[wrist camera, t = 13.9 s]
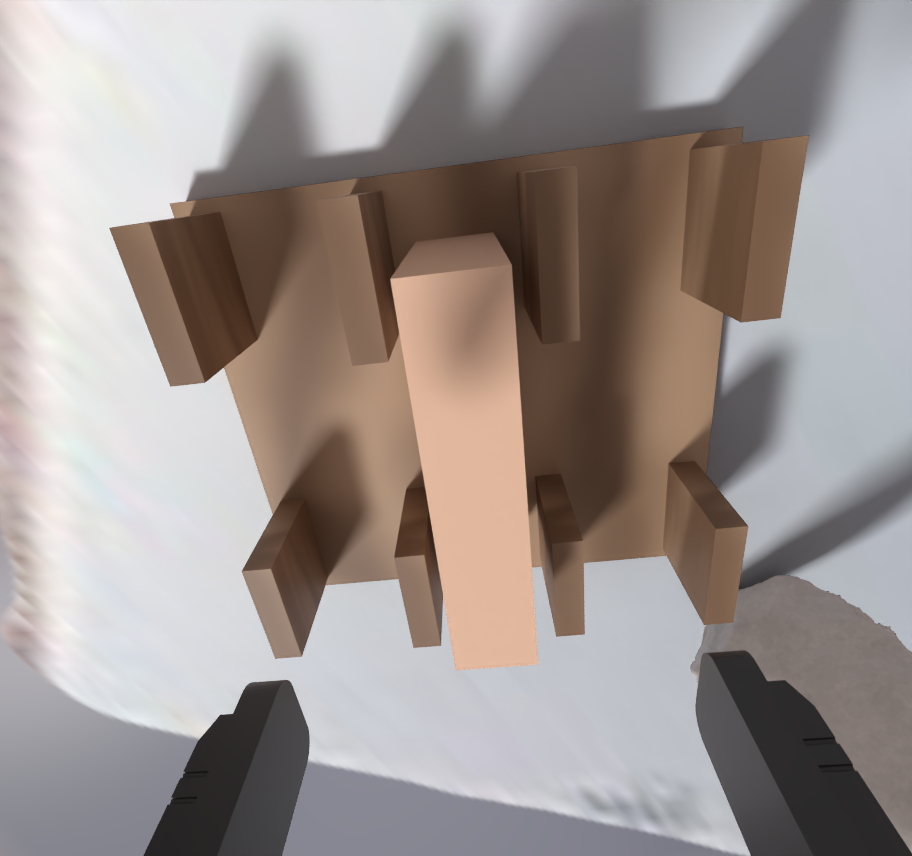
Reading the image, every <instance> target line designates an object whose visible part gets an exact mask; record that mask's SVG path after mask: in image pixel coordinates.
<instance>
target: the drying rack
mask: <svg viewBox="0 0 912 856" xmlns="http://www.w3.org/2000/svg"><path fill="white" fill-rule="evenodd" d="M742 134H743V127H737V128H729V129H722V130H714V131H707V132H699V133H692V134H685V135H677V136H670V137H662V138H655V139H647V140H640V141H632V142H625V143H618V144H610V145H603V146H595V147H588V148H580V149H573V150H566V151H558V152H551V153H543V154H536V155H528V156H521V157H513V158H506V159H499V160H491V161H484V162H476V163H469V164H461V165H454V166H446V167H439V168H432V169H424V170H417V171H409V172H402V173H394V174H387V175H379V176H372V177H365V178H357V179H350V180H342V181H335V182H327V183H320V184H312V185H305V186H298V187H290V188H283V189H275V190H268V191H260V192H253V193H245V194H238V195H231V196H223V197H216V198H208V199H201V200H193V201H186V202H178V203H171V204H170V206H171V209H172V212H173V215H174V218H172V219H166V220H159V221H152V222H146V223H139V224H132V225H125V226H119V227H112V228H110V231H111V234H112V236H113V239H114V241H115V244H116V247H117V249H118V252H119V254H120V257H121V260H122V262H123V265H124V267H125V270H126V273H127V275H128V278H129V280H130V283H131V285H132V288H133V291H134V293H135V296H136V298H137V301H138V304H139V306H140V309H141V311H142V314H143V317H144V319H145V322H146V324H147V327H148V330H149V332H150V335H151V337H152V340H153V343H154V345H155V348H156V350H157V353H158V356H159V358H160V361H161V363H162V366H163V368H164V371H165V374H166V376H167V379H168V381H169V384H170V386H179V385H188V384H197V383H205V382H206V381H208V380H209V379H210V378H211V377H213V376H214V375H215V374H216V373H217V372H219V371H220V370H221V369H222V368H224V369H225V372H226V375H227V378H228V381H229V384H230V387H231V390H232V393H233V396H234V399H235V402H236V405H237V408H238V411H239V414H240V417H241V420H242V423H243V426H244V429H245V432H246V435H247V438H248V441H249V444H250V447H251V450H252V453H253V456H254V459H255V462H256V465H257V468H258V471H259V474H260V477H261V480H262V483H263V486H264V489H265V492H266V495H267V498H268V501H269V504H270V507H271V510H272V513H273V516H272V518H271V519H270V521H269V523H268V525H267V527H266V528H265V530H264V532H263V534H262V536H261V538H260V539H259V541H258V543H257V545H256V547H255V548H254V550H253V552H252V554H251V556H250V557H249V559H248V561H247V563H246V565H245V566H244V568H243V570H242V573H243V576H244V579H245V581H246V584H247V586H248V589H249V591H250V594H251V597H252V599H253V602H254V604H255V607H256V610H257V612H258V615H259V617H260V620H261V623H262V625H263V628H264V630H265V633H266V636H267V638H268V641H269V643H270V646H271V649H272V651H273V654H274V656H275V659H277V658H289V657H302V654H303V651H304V648H305V645H306V642H307V639H308V636H309V633H310V630H311V627H312V624H313V621H314V618H315V615H316V612H317V609H318V606H319V603H320V600H321V597H322V594H323V591H324V588H325V585H334V584H345V583H357V582H368V581H380V580H391V579H399V583H400V588H401V592H402V597H403V601H404V606H405V611H406V615H407V620H408V624H409V629H410V634H411V638H412V643H413V647H414V648H417V647H430V646H441V631H442V608H443V591H442V585H441V579H440V573H439V567H438V561H437V555H436V549H435V543H434V537H433V531H432V525H431V519H430V513H429V507H428V501H427V495H426V489H425V483H424V478H423V472H422V466H421V460H420V454H419V448H418V442H417V436H416V430H415V424H414V418H413V412H412V406H411V400H410V394H409V388H408V382H407V376H406V370H405V364H404V358H403V352H402V346H401V340H400V334H399V328H398V322H397V316H396V310H395V304H394V298H393V292H392V286H391V280H390V279H391V277H392V276H393V274H394V273H395V271H396V270H397V268H398V267H399V266H400V264H401V263H402V261H403V260H404V258H405V257H406V255H407V254H408V252H409V251H410V249H411V248H412V246H413V245H414V244H415V242H417V241H426V240H434V239H442V238H450V237H458V236H466V235H475V234H483V233H491V232H494V234H495V236H496V238H497V240H498V241H499V243H500V245H501V247H502V248H503V250H504V252H505V254H506V255H507V257H508V259H509V261H510V263H511V264H512V277H513V292H514V307H515V322H516V337H517V352H518V367H519V382H520V397H521V412H522V427H523V442H524V457H525V472H526V487H527V502H528V517H529V532H530V547H531V562H532V567H541V566H542V569H543V574H544V579H545V584H546V588H547V593H548V598H549V603H550V608H551V613H552V618H553V622H554V627H555V632H556V637H557V636H570V635H582V634H585V626H584V563H587V562H599V561H611V560H622V559H634V558H645V557H657V556H667V557H668V559H669V561H670V563H671V565H672V566H673V568H674V570H675V572H676V574H677V576H678V578H679V579H680V581H681V583H682V585H683V587H684V589H685V590H686V592H687V594H688V596H689V598H690V600H691V602H692V603H693V605H694V607H695V609H696V611H697V613H698V615H699V616H700V618H701V620H702V622H703V624H704V625H710V624H723V623H733V621H734V615H735V608H736V602H737V595H738V589H739V583H740V576H741V570H742V563H743V557H744V550H745V544H746V537H747V531H748V525H747V524H746V523H745V522H744V520H743V519H742V518H741V517H740V516H739V514H738V513H737V512H736V511H735V509H734V508H733V507H732V506H731V505H730V503H729V502H728V501H727V500H726V498H725V497H724V496H723V495H722V494H721V492H720V491H719V490H718V489H717V487H716V486H715V485H714V484H713V483H712V481H711V480H710V479H709V478H708V476H707V475H706V473H707V464H708V454H709V445H710V435H711V426H712V417H713V407H714V398H715V388H716V379H717V369H718V360H719V350H720V341H721V332H722V322H723V313H724V314H726V315H728V316H730V317H732V318H734V319H735V320H737V321H739V322H749V321H758V320H767V319H776V318H781V311H782V305H783V298H784V292H785V286H786V279H787V273H788V266H789V260H790V253H791V247H792V240H793V234H794V227H795V221H796V215H797V208H798V202H799V195H800V189H801V182H802V176H803V169H804V163H805V156H806V150H807V144H808V137H809V135H807V136H798V137H790V138H781V139H772V140H764V141H755V142H746V143H742Z"/></svg>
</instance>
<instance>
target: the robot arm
mask: <svg viewBox="0 0 912 856" xmlns="http://www.w3.org/2000/svg"><path fill="white" fill-rule="evenodd" d="M696 717H697V722H698V727H699V731H700V734H701V737H702V740H703V742H704V745H705V747H706V750H707V752H708V754H709V757H710V759H711V762H712V764H713V766H714V769H715V771H716V773H717V776H718V778H719V781H720V783H721V785H722V788H723V790H724V792H725V795H726V797H727V800H728V802H729V804H730V807H731V809H732V812H733V814H734V816H735V819H736V821H737V823H738V826H739V828H740V831H741V833H742V835H743V838H744V840H745V842H746V845H747V847H748V850H749V852H750V854H751V856H912V853H911V851H910V850H909V848H908V847H907V845H906V844H905V842H904V841H903V839H902V838H901V836H900V835H899V833H898V832H897V830H896V828H895V827H894V825H893V824H892V822H891V821H890V819H889V818H888V816H887V815H886V813H885V812H884V810H883V809H882V807H881V806H880V804H879V803H878V801H877V800H876V798H875V797H874V795H873V794H872V792H871V791H870V789H869V788H868V786H867V785H866V783H865V781H864V780H863V778H862V777H861V775H860V774H859V772H858V771H855V769H854V768H853V763H852V762H851V760H850V759H849V757H848V756H847V754H846V753H845V751H844V750H843V748H842V747H841V745H840V744H839V743H837V742H836V740H835V736H834V735H833V733H832V731H831V730H830V728H829V727H828V725H827V724H826V722H825V721H824V719H823V718H822V716H821V715H820V713H819V712H818V710H817V709H816V707H815V706H814V705H813V704H812V703H811V702H810V701H809V700H807V699H806V698H805V697H804V696H803V695H802V694H801V693H799V692H798V691H797V690H796V689H795V688H794V687H792V686H791V685H790V684H789V683H788V682H787V681H786V680H778V681H767V679H766V678H765V676H764V674H763V673H762V671H761V669H760V668H759V666H758V664H757V663H756V661H755V660H754V658H753V657H752V655H751V654H750V653H749V652H747V651H745V650H739V651H725V652H710V653H703V655H702V657H701V663H700V672H699V680H698V689H697V697H696ZM308 755H309V730H308V726H307V724H306V721H305V718H304V715H303V713H302V710H301V707H300V705H299V702H298V699H297V697H296V694H295V691H294V689H293V686H292V684H291V682H290V681H288V680H281V681H266V682H252V683H250V684H248V685H247V686H246V688H245V689H244V691H243V693H242V695H241V697H240V699H239V702H238V704H237V706H236V709H235V711H234V713H233V714H227V715H220V716H219V717H218V718H217V720H216V721H215V722H214V723H213V724H212V725H211V727H210V728H209V729H208V730H207V731H206V733H205V734H204V735H203V736H202V737H201V738H200V740H199V741H198V742H197V744H196V747H195V749H194V751H193V753H192V755H191V757H190V759H189V761H188V763H187V766H186V768H185V770H184V772H183V778H181V779H180V780H179V782H178V784H177V786H176V788H175V791H174V793H173V795H172V797H171V803H170V805H167V807H166V810H165V812H164V814H163V816H162V818H161V820H160V822H159V824H158V826H157V828H156V830H155V833H154V835H153V837H152V839H151V841H150V843H149V846H148V847H147V849H146V852H145V854H144V856H282V853H283V849H284V846H285V842H286V838H287V835H288V831H289V827H290V824H291V820H292V816H293V813H294V809H295V805H296V802H297V798H298V794H299V790H300V787H301V783H302V780H303V776H304V772H305V768H306V765H307V761H308Z"/></svg>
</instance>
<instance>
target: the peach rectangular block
mask: <svg viewBox="0 0 912 856" xmlns="http://www.w3.org/2000/svg"><path fill="white" fill-rule="evenodd" d="M390 280H391V286H392V292H393V298H394V304H395V310H396V316H397V322H398V328H399V334H400V340H401V346H402V352H403V358H404V364H405V370H406V376H407V382H408V388H409V394H410V400H411V406H412V412H413V418H414V424H415V430H416V436H417V442H418V448H419V454H420V460H421V466H422V472H423V478H424V483H425V489H426V495H427V501H428V507H429V513H430V519H431V525H432V531H433V537H434V543H435V549H436V555H437V561H438V567H439V573H440V579H441V585H442V591H443V597H444V603H445V609H446V615H447V621H448V627H449V633H450V639H451V645H452V651H453V657H454V663H455V669H456V670H467V669H481V668H494V667H508V666H522V665H536V664H538V652H537V637H536V622H535V607H534V592H533V577H532V562H531V547H530V532H529V517H528V502H527V487H526V472H525V457H524V442H523V427H522V412H521V397H520V382H519V367H518V352H517V337H516V322H515V307H514V292H513V277H512V264H511V263H510V261H509V259H508V257H507V255H506V254H505V252H504V250H503V248H502V247H501V245H500V243H499V241H498V240H497V238H496V236H495V234H494V232H491V233H483V234H475V235H466V236H458V237H450V238H442V239H434V240H426V241H417V242H415V244H414V245H413V246H412V248H411V249H410V251H409V252H408V254H407V255H406V257H405V258H404V260H403V261H402V263H401V264H400V266H399V267H398V268H397V270H396V271H395V273H394V274H393V276H392V277H391V279H390Z"/></svg>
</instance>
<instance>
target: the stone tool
mask: <svg viewBox="0 0 912 856" xmlns="http://www.w3.org/2000/svg"><path fill="white" fill-rule="evenodd" d="M739 650H745V651H747V652H749V653H750V654H751V655H752V657H753V658H754V660H755V661H756V663H757V664H758V666H759V668H760V669H761V671H762V673H763V674H764V676H765V678H766V679H767V681H778V680H786V681H787V682H788V683H789V684H790V685H791V686H792V687H794V688H795V689H796V690H797V691H798V692H799V693H801V694H802V695H803V696H804V697H805V698H806V699H807V700H809V701H810V702H811V703H812V704H813V705H814V706H815V707H816V709H817V710H818V712H819V713H820V715H821V716H822V718H823V719H824V721H825V722H826V724H827V725H828V727H829V728H830V730H831V731H832V733H833V735H834V736H835V740H836V742H837V743H839V744H840V745H841V747H842V748H843V750H844V751H845V753H846V754H847V756H848V757H849V759H850V760H851V762H852V763H853V768H854V769H855V771H858V772H859V774H860V775H861V777H862V778H863V780H864V781H865V783H866V785H867V786H868V788H869V789H870V791H871V792H872V794H873V795H874V797H875V798H876V800H877V801H878V803H879V804H880V806H881V807H882V809H883V810H884V812H885V813H886V815H887V816H888V818H889V819H890V821H891V822H892V824H893V825H894V827H895V828H896V830H897V832H898V833H899V835H900V836H901V838H902V839H903V841H904V842H905V844H906V845H907V847H908V848H909V850H910V851H911V853H912V652H911V651H909V650H908V649H907V648H906V647H905V646H904V645H903V644H902V643H901V641H900V640H899V639H898V638H897V636H896V633H894V631H892V630H891V629H890V627H887V626H883V625H881V624H880V623H878V624H876V623H874V621H873V620H872V618H870V617H869V616H868V615H867V614H866V613H863V612H862V611H861V609H860V608H857V607H855V606H854V605H851V604H849V603H847V602H846V601H845V600H844V599H842V598H841V596H840V595H835V594H833V593H829V591H823V590H821V589H819V588H817V587H815V586H814V585H813V584H812V583H810V582H809V581H806V580H803V579H800V578H798V577H794V576H790V575H778V576H774V577H772V578H769V579H767V580H766V581H764V582H762V583H757V584H755V585H753V586H752V587H747V588H744V589H740V590H738V595H737V602H736V608H735V615H734V621H733V623H723V624H710V625H706V626H705V629H704V634H703V640H702V644H701V647H700V648H699V650H698V653H697V655H696V657H695V661H694V662H693V663H692V664H691V667H690V669H691V672H692V673H693V675H694V676H695V677H696V678H697V682H698V680H699V672H700V663H701V657H702V655H703V653H710V652H725V651H739Z"/></svg>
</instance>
